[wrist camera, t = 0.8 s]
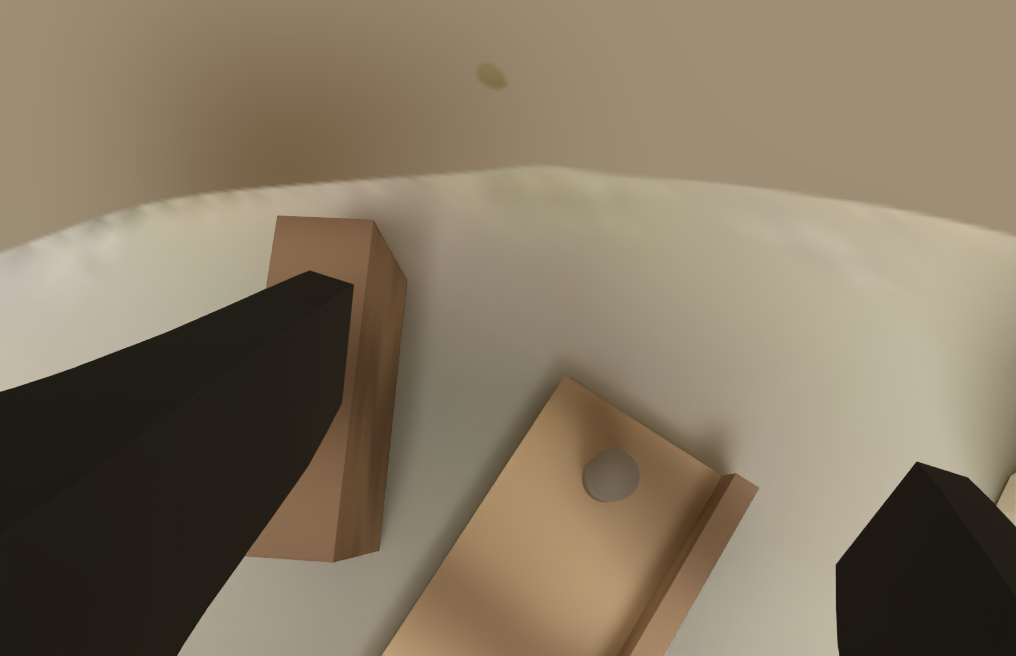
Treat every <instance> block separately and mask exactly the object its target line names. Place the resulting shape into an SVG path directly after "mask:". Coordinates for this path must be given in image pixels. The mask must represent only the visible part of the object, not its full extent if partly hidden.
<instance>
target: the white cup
mask: <svg viewBox="0 0 1016 656" xmlns="http://www.w3.org/2000/svg"><path fill="white" fill-rule="evenodd" d="M996 506H997V507H998V508H999V509H1000V510H1001V511H1002V512H1003V513H1004V514H1005V515H1006V516H1007V518H1008V519H1009V520H1010V521H1011V522H1012V523H1013V524H1014V525H1015V526H1016V472H1015V473H1014V474H1012V475H1011V477H1010V478H1009V481H1008V483H1007V485H1006V487H1005V489H1004V491H1003V493H1002V495H1001V497H1000V499H999V501H998V503H997V505H996Z"/></svg>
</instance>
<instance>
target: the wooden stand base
mask: <svg viewBox="0 0 1016 656" xmlns="http://www.w3.org/2000/svg"><path fill="white" fill-rule="evenodd" d="M758 489H759V488H758V487H757V486H755V485H754V484H752V483H751V482H749V481H747V480H746V479H744V478H743V477H741V476H740V475H738V474H736V473H735V474H730V475H725V476H722V475H720V474H718V473H717V472H715V471H714V470H712V469H711V468H709V467H708V466H706V465H704V464H703V463H701V462H700V461H698V460H697V459H695V458H693V457H692V456H690V455H689V454H687V453H686V452H684V451H682V450H681V449H679V448H678V447H676V446H675V445H673V444H672V443H670V442H668V441H667V440H665V439H664V438H662V437H661V436H659V435H657V434H656V433H654V432H653V431H651V430H650V429H648V428H646V427H645V426H643V425H642V424H640V423H639V422H637V421H636V420H634V419H632V418H631V417H629V416H628V415H626V414H625V413H623V412H621V411H620V410H618V409H617V408H615V407H614V406H612V405H610V404H609V403H607V402H606V401H604V400H603V399H601V398H600V397H598V396H596V395H595V394H593V393H592V392H590V391H589V390H587V389H585V388H584V387H582V386H581V385H579V384H578V383H576V382H574V381H573V380H571V379H570V378H568V377H567V376H564V378H563V379H562V381H561V382H560V384H559V385H558V387H557V388H556V390H555V391H554V393H553V394H552V396H551V398H550V399H549V401H548V402H547V404H546V405H545V407H544V408H543V410H542V411H541V413H540V414H539V416H538V417H537V419H536V420H535V422H534V424H533V425H532V427H531V428H530V430H529V431H528V433H527V434H526V436H525V437H524V439H523V440H522V442H521V443H520V445H519V446H518V448H517V450H516V451H515V453H514V454H513V456H512V457H511V459H510V460H509V462H508V463H507V465H506V466H505V468H504V469H503V471H502V472H501V474H500V476H499V477H498V479H497V480H496V482H495V483H494V485H493V486H492V488H491V489H490V491H489V492H488V494H487V495H486V497H485V498H484V500H483V502H482V503H481V505H480V506H479V508H478V509H477V511H476V512H475V514H474V515H473V517H472V518H471V520H470V521H469V523H468V524H467V526H466V528H465V529H464V531H463V532H462V534H461V535H460V537H459V538H458V540H457V541H456V543H455V544H454V546H453V547H452V549H451V550H450V552H449V553H448V555H447V557H446V558H445V560H444V561H443V563H442V564H441V566H440V567H439V569H438V570H437V572H436V573H435V575H434V576H433V578H432V579H431V581H430V583H429V584H428V586H427V587H426V589H425V590H424V592H423V593H422V595H421V596H420V598H419V599H418V601H417V602H416V604H415V605H414V607H413V609H412V610H411V612H410V613H409V615H408V616H407V618H406V619H405V621H404V622H403V624H402V625H401V627H400V628H399V630H398V631H397V633H396V635H395V636H394V638H393V639H392V641H391V642H390V644H389V645H388V647H387V648H386V650H385V651H384V653H383V654H382V656H663V655H664V654H665V652H666V650H667V648H668V647H669V645H670V643H671V641H672V640H673V638H674V636H675V634H676V633H677V631H678V629H679V627H680V626H681V624H682V622H683V620H684V619H685V617H686V615H687V613H688V612H689V610H690V608H691V606H692V605H693V603H694V601H695V599H696V598H697V596H698V594H699V592H700V591H701V589H702V587H703V585H704V584H705V582H706V580H707V578H708V577H709V575H710V573H711V571H712V570H713V568H714V566H715V564H716V563H717V561H718V559H719V557H720V556H721V554H722V552H723V550H724V549H725V547H726V545H727V543H728V542H729V540H730V538H731V536H732V535H733V533H734V531H735V529H736V528H737V526H738V524H739V522H740V521H741V519H742V517H743V515H744V514H745V512H746V510H747V508H748V507H749V505H750V503H751V501H752V500H753V498H754V496H755V494H756V493H757V491H758Z"/></svg>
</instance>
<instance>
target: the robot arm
mask: <svg viewBox="0 0 1016 656" xmlns="http://www.w3.org/2000/svg"><path fill="white" fill-rule="evenodd" d="M353 291H354V284H351V283H348V282H345V281H342V280H339V279H336V278H332V277H329V276H326V275H323V274H320V273H316V272H313V271H310V270H309V271H307V272H304V273H302V274H299V275H297V276H294V277H292V278H289V279H287V280H285V281H282V282H280V283H278V284H276V285H273V286H271V287H269V288H267V289H264V290H262V291H260V292H258V293H255V294H253V295H251V296H249V297H247V298H244V299H242V300H240V301H238V302H235V303H233V304H231V305H229V306H226V307H224V308H222V309H219V310H217V311H215V312H212V313H210V314H208V315H206V316H203V317H201V318H199V319H196V320H194V321H192V322H189V323H187V324H185V325H182V326H180V327H178V328H175V329H173V330H171V331H168V332H166V333H164V334H161V335H158V336H156V337H153V338H151V339H148V340H145V341H143V342H140V343H138V344H135V345H132V346H130V347H127V348H124V349H122V350H119V351H117V352H114V353H111V354H109V355H106V356H104V357H101V358H98V359H96V360H93V361H90V362H88V363H85V364H83V365H80V366H77V367H75V368H72V369H69V370H66V371H63V372H60V373H58V374H55V375H52V376H49V377H46V378H43V379H40V380H37V381H34V382H30V383H27V384H24V385H21V386H18V387H15V388H12V389H8V390H5V391H2V392H0V656H177V655H178V653H179V652H180V650H181V648H182V646H183V645H184V643H185V642H186V640H187V638H188V637H189V635H190V634H191V632H192V631H193V629H194V628H195V626H196V625H197V623H198V622H199V620H200V619H201V617H202V616H203V614H204V613H205V611H206V610H207V608H208V607H209V605H210V604H211V602H212V601H213V600H214V598H215V597H216V595H217V594H218V593H219V591H220V590H221V588H222V587H223V586H224V584H225V583H226V581H227V580H228V579H229V577H230V576H231V575H232V573H233V572H234V570H235V569H236V568H237V566H238V565H239V563H240V562H241V561H242V559H243V558H244V556H245V555H246V554H247V552H248V551H249V549H250V548H251V547H252V545H253V544H254V542H255V541H256V540H257V538H258V537H259V535H260V534H261V533H262V531H263V530H264V528H265V527H266V526H267V524H268V523H269V521H270V520H271V519H272V517H273V516H274V514H275V513H276V512H277V510H278V509H279V507H280V506H281V505H282V503H283V502H284V500H285V499H286V497H287V496H288V495H289V493H290V492H291V490H292V489H293V488H294V486H295V485H296V483H297V482H298V480H299V479H300V478H301V476H302V475H303V473H304V472H305V470H306V469H307V467H308V466H309V464H310V462H311V461H312V459H313V457H314V455H315V453H316V452H317V450H318V448H319V446H320V444H321V442H322V441H323V439H324V437H325V435H326V433H327V431H328V429H329V427H330V425H331V424H332V422H333V420H334V418H335V416H336V414H337V412H338V410H339V408H340V406H341V404H342V400H343V390H344V380H345V370H346V360H347V350H348V341H349V331H350V321H351V311H352V301H353ZM836 618H837V640H838V649H839V656H1016V526H1015V525H1014V524H1013V523H1012V522H1011V521H1010V520H1009V519H1008V518H1007V516H1006V515H1005V514H1004V513H1003V512H1002V511H1001V510H1000V509H999V508H998V507H997V506H996V505H995V504H994V503H993V502H992V501H991V500H990V499H989V498H988V497H987V496H986V495H985V494H984V493H983V492H982V491H981V490H980V489H979V488H978V487H977V486H976V485H975V484H974V483H973V482H972V481H971V480H970V479H969V478H968V477H964V476H961V475H958V474H955V473H952V472H949V471H945V470H942V469H939V468H936V467H933V466H930V465H926V464H923V463H920V462H916V463H915V464H914V466H913V467H912V468H911V469H910V471H909V472H908V473H907V475H906V476H905V477H904V478H903V480H902V481H901V482H900V484H899V485H898V486H897V487H896V489H895V490H894V491H893V492H892V494H891V495H890V496H889V498H888V499H887V500H886V501H885V503H884V504H883V505H882V506H881V508H880V509H879V510H878V512H877V513H876V514H875V515H874V517H873V518H872V519H871V520H870V522H869V523H868V524H867V526H866V527H865V528H864V529H863V531H862V532H861V533H860V535H859V536H858V537H857V538H856V540H855V541H854V542H853V543H852V545H851V546H850V547H849V549H848V550H847V551H846V552H845V554H844V555H843V556H842V557H841V559H840V560H839V561H838V563H837V564H836Z"/></svg>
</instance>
